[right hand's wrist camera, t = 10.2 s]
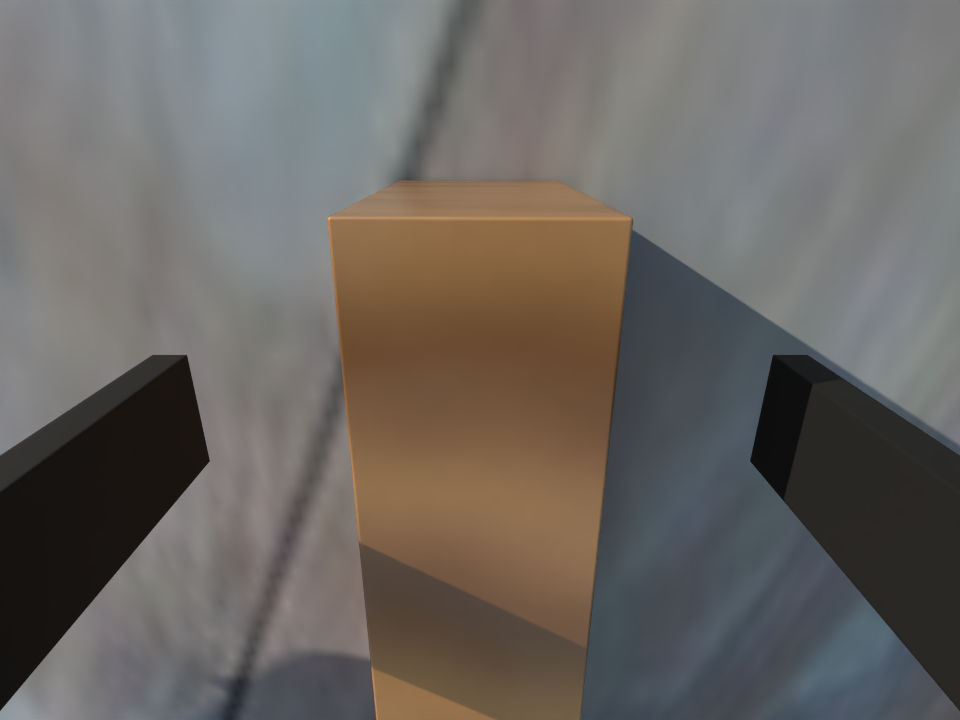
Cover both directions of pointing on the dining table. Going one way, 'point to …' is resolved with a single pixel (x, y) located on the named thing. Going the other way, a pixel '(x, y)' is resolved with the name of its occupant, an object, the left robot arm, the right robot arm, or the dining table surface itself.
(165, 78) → the dining table surface
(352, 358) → the post
